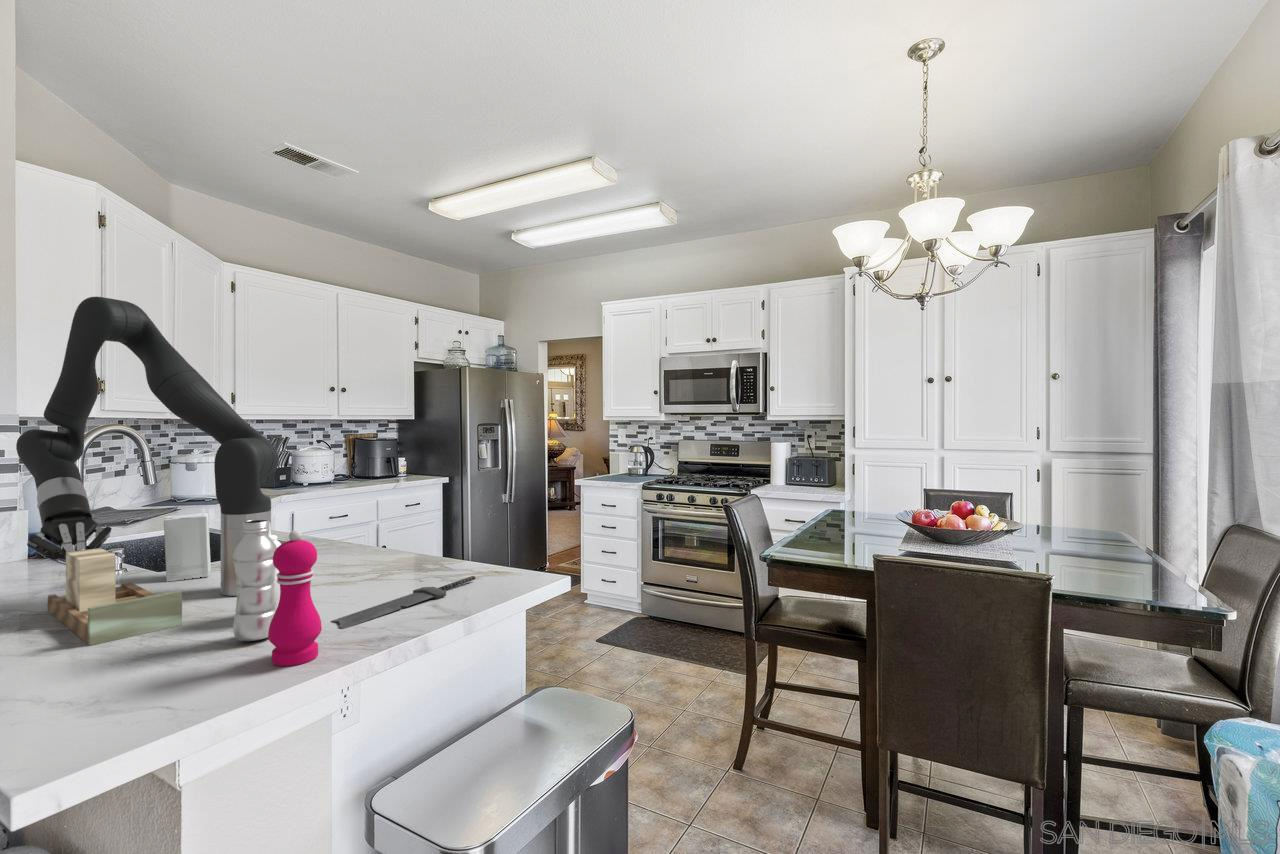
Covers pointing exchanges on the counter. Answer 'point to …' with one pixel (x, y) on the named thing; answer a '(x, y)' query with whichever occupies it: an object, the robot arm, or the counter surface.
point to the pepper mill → (294, 604)
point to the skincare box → (187, 546)
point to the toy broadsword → (397, 604)
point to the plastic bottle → (254, 582)
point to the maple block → (90, 578)
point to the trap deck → (120, 614)
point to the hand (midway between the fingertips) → (78, 571)
